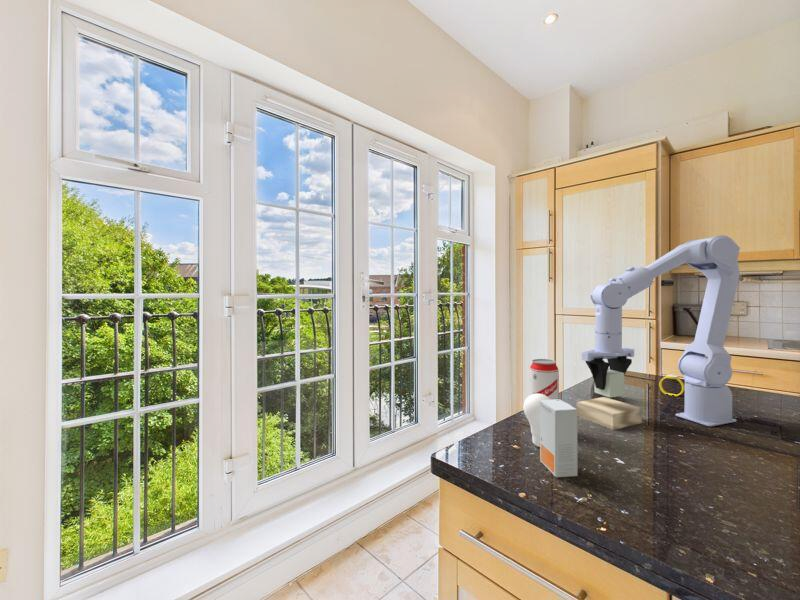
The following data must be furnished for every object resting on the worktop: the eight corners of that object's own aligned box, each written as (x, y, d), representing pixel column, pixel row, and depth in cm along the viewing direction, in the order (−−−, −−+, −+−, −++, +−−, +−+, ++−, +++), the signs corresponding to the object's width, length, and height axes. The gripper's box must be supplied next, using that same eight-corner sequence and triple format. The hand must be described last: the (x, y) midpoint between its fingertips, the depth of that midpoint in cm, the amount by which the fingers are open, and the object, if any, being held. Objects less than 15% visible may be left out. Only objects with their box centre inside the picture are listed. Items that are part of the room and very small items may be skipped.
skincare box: (539, 461, 70) (538, 399, 69) (560, 460, 70) (560, 398, 70) (555, 478, 64) (555, 410, 63) (578, 477, 64) (578, 409, 64)
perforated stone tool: (604, 410, 97) (604, 384, 97) (582, 406, 101) (582, 381, 101) (619, 397, 108) (619, 374, 108) (599, 394, 112) (599, 371, 112)
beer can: (561, 436, 81) (561, 364, 81) (532, 434, 83) (531, 363, 82) (555, 425, 88) (555, 358, 87) (528, 423, 89) (527, 358, 88)
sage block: (608, 390, 93) (608, 369, 93) (624, 395, 89) (624, 372, 89) (594, 392, 92) (594, 370, 92) (609, 397, 88) (609, 374, 87)
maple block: (603, 411, 98) (603, 396, 97) (641, 424, 88) (641, 407, 88) (576, 417, 94) (576, 402, 93) (613, 431, 84) (613, 414, 84)
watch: (684, 397, 109) (686, 377, 108) (682, 399, 107) (684, 379, 106) (660, 391, 113) (662, 372, 113) (657, 393, 111) (659, 374, 111)
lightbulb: (553, 442, 78) (553, 391, 78) (556, 454, 73) (555, 399, 72) (523, 438, 80) (523, 389, 80) (523, 450, 75) (523, 397, 74)
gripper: (598, 336, 84) (598, 395, 85) (645, 333, 89) (645, 388, 89) (575, 332, 91) (575, 387, 91) (620, 329, 95) (620, 381, 96)
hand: (608, 387), depth 91 cm, fingers closed on sage block, 4 cm apart
